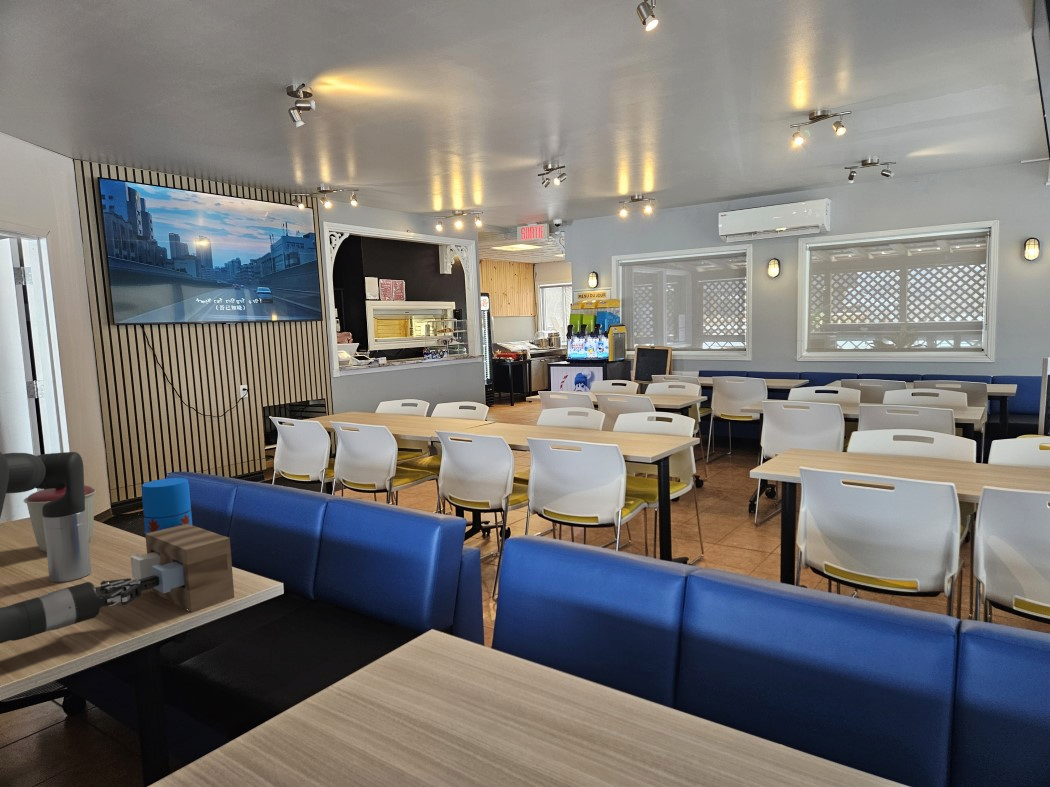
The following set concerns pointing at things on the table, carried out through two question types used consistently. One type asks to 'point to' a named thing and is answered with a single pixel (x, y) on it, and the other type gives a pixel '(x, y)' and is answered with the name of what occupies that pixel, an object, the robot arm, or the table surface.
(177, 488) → the thermos
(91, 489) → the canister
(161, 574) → the key blue
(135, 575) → the key white
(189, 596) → the housing
